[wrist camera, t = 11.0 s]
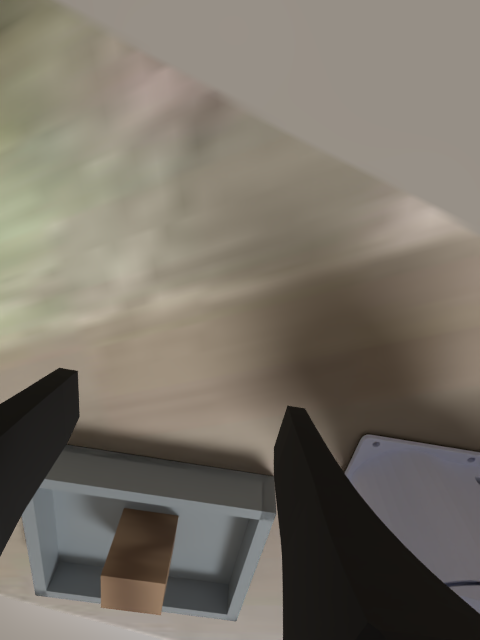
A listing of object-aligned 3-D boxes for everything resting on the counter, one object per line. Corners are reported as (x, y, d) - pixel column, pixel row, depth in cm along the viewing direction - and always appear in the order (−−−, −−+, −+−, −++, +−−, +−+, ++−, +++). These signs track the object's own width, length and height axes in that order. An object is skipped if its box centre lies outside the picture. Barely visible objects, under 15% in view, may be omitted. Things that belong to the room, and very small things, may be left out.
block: (178, 515, 29) (165, 584, 25) (173, 546, 31) (160, 615, 27) (124, 507, 29) (100, 575, 24) (122, 539, 31) (101, 607, 26)
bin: (274, 476, 27) (276, 513, 25) (237, 584, 35) (236, 621, 32) (38, 440, 26) (14, 474, 24) (52, 559, 34) (35, 595, 31)
